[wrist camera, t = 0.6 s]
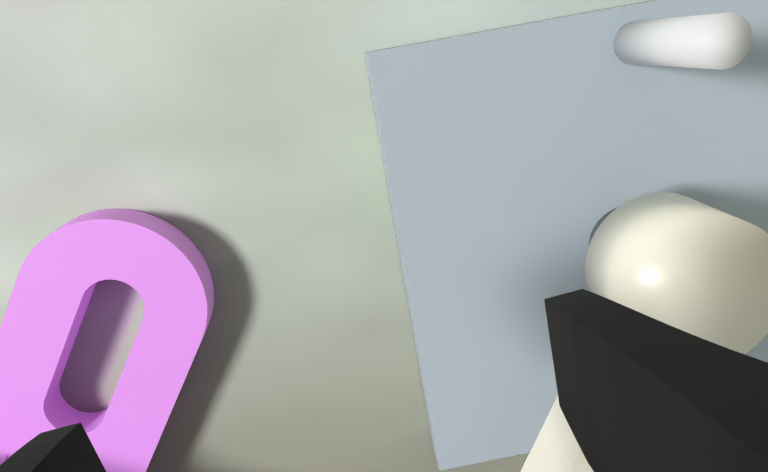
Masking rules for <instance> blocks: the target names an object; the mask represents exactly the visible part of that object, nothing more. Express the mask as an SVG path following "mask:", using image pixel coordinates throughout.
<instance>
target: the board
mask: <svg viewBox="0 0 768 472" xmlns="http://www.w3.org/2000/svg"><path fill="white" fill-rule="evenodd" d="M365 58H366V64H367V70H368V75H369V81H370V87H371V93H372V98H373V104H374V110H375V115H376V121H377V127H378V133H379V138H380V144H381V150H382V156H383V161H384V167H385V173H386V178H387V184H388V190H389V196H390V201H391V207H392V213H393V219H394V224H395V230H396V236H397V241H398V247H399V253H400V259H401V264H402V270H403V276H404V281H405V287H406V293H407V299H408V304H409V310H410V316H411V322H412V327H413V333H414V339H415V344H416V350H417V356H418V362H419V367H420V373H421V379H422V385H423V390H424V396H425V402H426V407H427V413H428V419H429V425H430V430H431V436H432V442H433V448H434V452H435V456H436V460H437V463H438V467H439V471H441V470H446V469H451V468H455V467H460V466H465V465H470V464H475V463H480V462H485V461H490V460H495V459H500V458H505V457H509V456H514V455H519V454H524V453H529V452H530V451H531V449H532V447H533V445H534V443H535V441H536V439H537V437H538V435H539V433H540V431H541V429H542V427H543V425H544V423H545V420H546V418H547V416H548V414H549V412H550V410H551V408H552V406H553V404H554V402H555V400H556V398H557V396H558V392H557V385H556V378H555V371H554V364H553V357H552V350H551V343H550V337H549V330H548V323H547V316H546V309H545V302H544V299H546V298H550V297H554V296H557V295H561V294H565V293H569V292H573V291H576V290H580V289H584V290H587V291H589V288H588V285H587V282H586V275H585V261H586V255H587V251H588V247H589V244H590V242H591V239H592V237H593V236H594V234H595V232H596V230H597V229H598V227H599V226H600V224H601V223H602V222H603V221H604V220H605V219H606V217H607V216H608V215H609V214H610V213H612V212H613V211H614V210H615V209H616V208H618V207H619V206H621V205H622V204H624V203H625V202H627V201H629V200H631V199H633V198H636V197H638V196H641V195H645V194H649V193H656V192H670V193H677V194H680V195H684V196H686V197H689V198H691V199H694V200H696V201H698V202H701V203H703V204H706V205H708V206H711V207H713V208H715V209H718V210H720V211H723V212H725V213H727V214H730V215H732V216H735V217H737V218H739V219H742V220H744V221H747V222H749V223H751V224H753V225H755V226H758V227H759V228H761V229H762V230H764V231H765V232H766V233H768V0H652V1H647V2H641V3H636V4H630V5H625V6H619V7H614V8H608V9H603V10H597V11H592V12H586V13H581V14H575V15H570V16H564V17H559V18H553V19H548V20H542V21H537V22H531V23H526V24H520V25H515V26H509V27H504V28H498V29H493V30H487V31H482V32H476V33H470V34H465V35H459V36H454V37H448V38H443V39H437V40H432V41H426V42H421V43H415V44H410V45H404V46H399V47H393V48H388V49H382V50H377V51H371V52H366V53H365ZM745 355H748V356H751V357H753V358H756V359H759V360H762V361H765V362H768V333H767V335H766V336H765V337H764V338H763V339H762V340H761V341H760V342H759V343H758V344H757V345H756V346H755V347H754V348H752V349H751V350H750V351H749V352H747V353H746V354H745Z"/></svg>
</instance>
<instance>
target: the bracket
mask: <svg viewBox="0 0 768 472" xmlns="http://www.w3.org/2000/svg"><path fill="white" fill-rule="evenodd" d="M102 280H118V281H122V282H124V283H126V284H128V285H130V286H131V287H133V288H134V289H135V290H136V291H137V292H138V293H139V295H140V296H141V298H142V300H143V303H144V308H145V313H144V318H143V321H142V323H141V326H140V328H139V331H138V333H137V336H136V338H135V341H134V343H133V346H132V348H131V351H130V353H129V356H128V358H127V361H126V363H125V366H124V368H123V371H122V373H121V376H120V378H119V381H118V383H117V386H116V388H115V391H114V394H113V396H112V399H111V401H110V404H109V406H108V408H107V409H105V410H103V411H100V412H94V413H87V412H82V411H79V410H76V409H75V408H73V407H71V406H70V405H69V404H68V403H67V402H66V401H65V400H64V399H63V397H62V395H61V392H60V380H61V377H62V374H63V372H64V369H65V366H66V364H67V361H68V358H69V356H70V353H71V350H72V347H73V345H74V342H75V339H76V337H77V334H78V331H79V329H80V326H81V323H82V320H83V318H84V315H85V312H86V310H87V307H88V304H89V302H90V299H91V296H92V294H93V291H94V288H95V285H96V283H97V282H98V281H102ZM213 307H214V286H213V280H212V277H211V273H210V270H209V268H208V265H207V263H206V261H205V259H204V257H203V256H202V254H201V253H200V251H199V250H198V248H197V247H196V246H195V245H194V243H193V242H192V241H191V240H190V239H189V238H188V237H187V236H186V235H185V234H184V233H182V232H181V231H180V230H179V229H177V228H176V227H174V226H173V225H171V224H170V223H168V222H166V221H164V220H162V219H160V218H158V217H156V216H153V215H151V214H147V213H144V212H140V211H135V210H129V209H105V210H98V211H94V212H90V213H87V214H84V215H81V216H79V217H77V218H75V219H73V220H71V221H69V222H68V223H66V224H65V225H63V226H62V227H60V228H59V229H57V230H56V231H54V232H53V233H51V234H50V235H48V236H47V237H45V238H44V239H43V240H42V241H41V242H39V243H38V244H37V245H36V246H35V247H34V248H33V250H32V251H31V252H30V254H29V255H28V256H27V258H26V260H25V261H24V263H23V265H22V267H21V269H20V272H19V274H18V277H17V280H16V283H15V286H14V289H13V292H12V295H11V298H10V301H9V304H8V307H7V310H6V313H5V316H4V319H3V322H2V325H1V328H0V465H1V464H2V463H3V462H4V461H5V460H7V459H8V458H9V457H10V456H11V455H13V454H14V453H15V452H16V451H17V450H19V449H20V448H21V447H22V446H24V445H25V444H26V443H28V442H29V441H30V440H32V439H33V438H35V437H36V436H37V435H39V434H40V433H42V432H46V431H50V430H54V429H58V428H61V427H65V426H69V425H73V424H76V423H80V422H81V424H82V426H83V428H84V430H85V432H86V433H87V435H88V437H89V439H90V441H91V443H92V445H93V447H94V449H95V451H96V453H97V455H98V457H99V459H100V460H101V462H102V464H103V466H104V468H105V470H106V472H146V470H147V468H148V465H149V463H150V461H151V458H152V456H153V454H154V451H155V449H156V447H157V444H158V442H159V440H160V437H161V435H162V433H163V430H164V428H165V426H166V423H167V421H168V419H169V416H170V414H171V412H172V409H173V407H174V404H175V402H176V400H177V397H178V395H179V393H180V390H181V388H182V386H183V383H184V381H185V379H186V376H187V374H188V372H189V369H190V367H191V365H192V362H193V360H194V358H195V355H196V353H197V351H198V348H199V346H200V344H201V341H202V339H203V336H204V334H205V332H206V329H207V327H208V325H209V322H210V319H211V316H212V312H213Z"/></svg>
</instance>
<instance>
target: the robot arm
mask: <svg viewBox="0 0 768 472" xmlns="http://www.w3.org/2000/svg"><path fill="white" fill-rule="evenodd" d="M544 302H545V309H546V316H547V323H548V330H549V337H550V343H551V350H552V357H553V364H554V371H555V378H556V385H557V392H558V398H559V405H560V408H561V410H562V412H563V414H564V416H565V418H566V420H567V422H568V424H569V426H570V428H571V430H572V433H573V435H574V437H575V439H576V440H577V442H578V444H579V446H580V448H581V450H582V452H583V454H584V456H585V458H586V460H587V462H588V464H589V465H590V467H591V468H592V470H593V471H594V472H768V362H765V361H762V360H759V359H756V358H753V357H751V356H748V355H745V354H742V353H739V352H736V351H734V350H731V349H728V348H726V347H723V346H720V345H718V344H715V343H713V342H710V341H707V340H705V339H702V338H700V337H697V336H695V335H692V334H690V333H687V332H685V331H682V330H680V329H678V328H675V327H673V326H670V325H668V324H666V323H663V322H661V321H658V320H656V319H654V318H651V317H649V316H647V315H644V314H642V313H640V312H638V311H635V310H633V309H631V308H628V307H626V306H624V305H621V304H619V303H617V302H614V301H612V300H610V299H607V298H605V297H603V296H600V295H598V294H595V293H593V292H590V291H587V290H584V289H580V290H576V291H573V292H569V293H565V294H561V295H557V296H554V297H550V298H546V299H544ZM0 472H106V470H105V468H104V466H103V464H102V462H101V460H100V459H99V457H98V455H97V453H96V451H95V449H94V447H93V445H92V443H91V441H90V439H89V437H88V435H87V433H86V432H85V430H84V428H83V426H82V424H81V422H80V423H76V424H73V425H69V426H65V427H61V428H58V429H54V430H50V431H46V432H42V433H40V434H39V435H37V436H36V437H35V438H33V439H32V440H30V441H29V442H28V443H26V444H25V445H24V446H22V447H21V448H20V449H19V450H17V451H16V452H15V453H14V454H13V455H11V456H10V457H9V458H8V459H7V460H5V461H4V462H3V463H2V464H1V465H0Z"/></svg>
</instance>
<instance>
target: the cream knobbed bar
mask: <svg viewBox="0 0 768 472" xmlns="http://www.w3.org/2000/svg"><path fill="white" fill-rule="evenodd" d="M585 275H586V282H587V285H588V288H589V291H590V292H593V293H595V294H598V295H600V296H603V297H605V298H607V299H610V300H612V301H614V302H617V303H619V304H621V305H624V306H626V307H628V308H631V309H633V310H635V311H638V312H640V313H642V314H644V315H647V316H649V317H651V318H654V319H656V320H658V321H661V322H663V323H666V324H668V325H670V326H673V327H675V328H678V329H680V330H682V331H685V332H687V333H690V334H692V335H695V336H697V337H700V338H702V339H705V340H707V341H710V342H713V343H715V344H718V345H720V346H723V347H726V348H728V349H731V350H734V351H736V352H739V353H742V354H746V353H747V352H749V351H750V350H751V349H752V348H754V347H755V346H756V345H757V344H758V343H759V342H760V341H761V340H762V339H763V338H764V337H765V336H766V335H767V333H768V233H766V232H765V231H764V230H762V229H761V228H759V227H758V226H755V225H753V224H751V223H749V222H747V221H744V220H742V219H739V218H737V217H735V216H732V215H730V214H727V213H725V212H723V211H720V210H718V209H715V208H713V207H711V206H708V205H706V204H703V203H701V202H698V201H696V200H694V199H691V198H689V197H686V196H684V195H680V194H677V193H670V192H656V193H649V194H645V195H641V196H638V197H636V198H633V199H631V200H629V201H627V202H625V203H624V204H622V205H621V206H619V207H618V208H616V209H615V210H614V211H613V212H612V213H610V214H609V215H608V216H607V217H606V219H605V220H604V221H603V222H602V223H601V224H600V226H599V227H598V229H597V230H596V232H595V234H594V236H593V237H592V239H591V242H590V244H589V247H588V251H587V255H586V261H585ZM521 472H594V471H593V470H592V468H591V467H590V465H589V464H588V462H587V460H586V458H585V456H584V454H583V452H582V450H581V448H580V446H579V444H578V442H577V440H576V439H575V437H574V435H573V433H572V430H571V428H570V426H569V424H568V422H567V420H566V418H565V416H564V414H563V412H562V410H561V408H560V405H559V398H558V396H557V398H556V400H555V402H554V404H553V406H552V408H551V410H550V412H549V414H548V416H547V418H546V420H545V423H544V425H543V427H542V429H541V431H540V433H539V435H538V437H537V439H536V441H535V443H534V445H533V447H532V449H531V451H530V453H529V455H528V457H527V459H526V461H525V464H524V466H523V468H522V470H521Z"/></svg>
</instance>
